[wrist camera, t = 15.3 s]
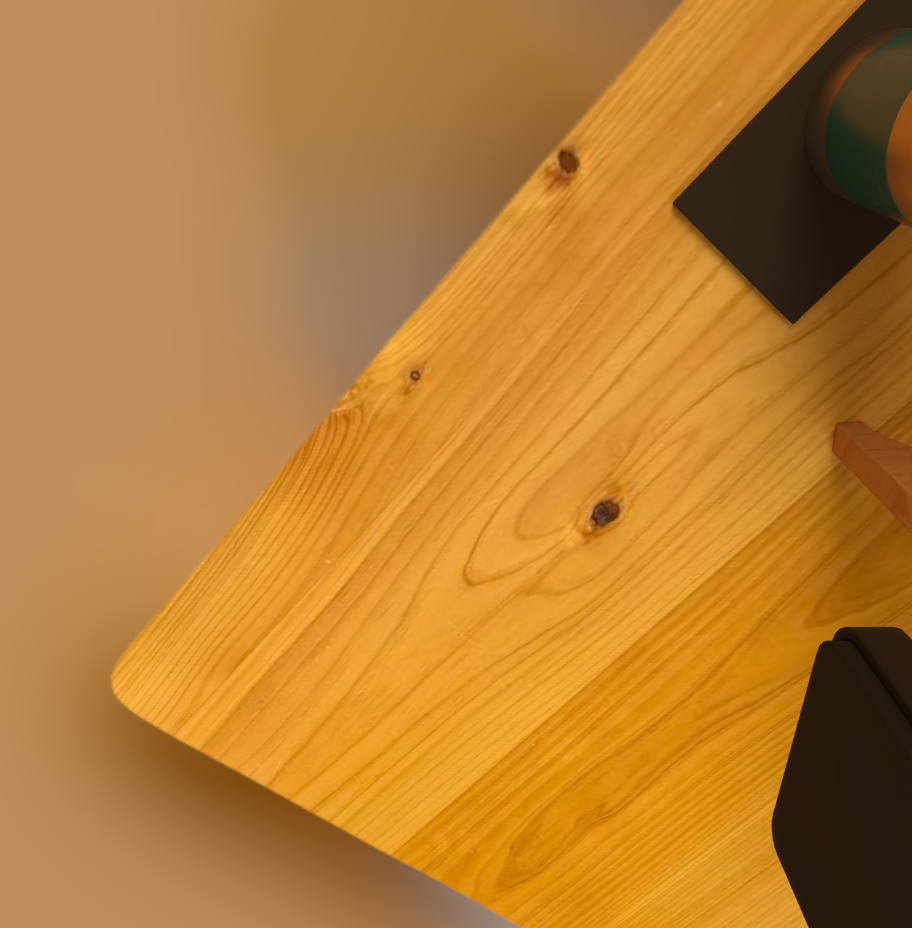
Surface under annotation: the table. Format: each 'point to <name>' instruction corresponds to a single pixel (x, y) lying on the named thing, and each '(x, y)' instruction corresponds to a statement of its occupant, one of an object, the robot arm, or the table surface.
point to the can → (866, 125)
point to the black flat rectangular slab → (790, 188)
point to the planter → (878, 466)
